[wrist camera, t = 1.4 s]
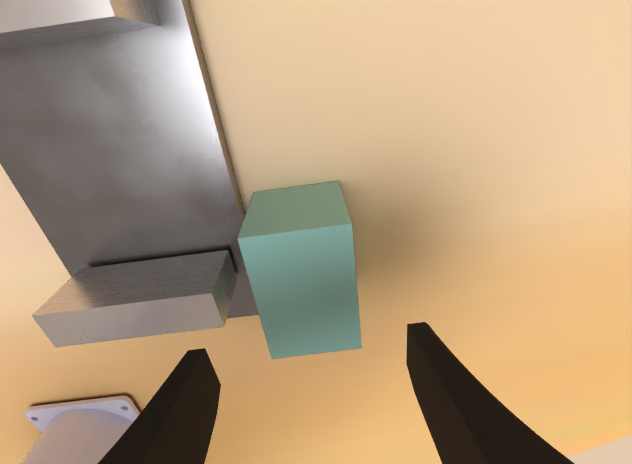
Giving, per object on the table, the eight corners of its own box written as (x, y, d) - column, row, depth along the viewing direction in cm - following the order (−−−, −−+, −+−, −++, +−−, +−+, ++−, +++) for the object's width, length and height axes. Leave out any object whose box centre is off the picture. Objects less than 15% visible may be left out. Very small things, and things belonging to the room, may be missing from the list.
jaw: (237, 279, 18) (223, 326, 15) (97, 297, 18) (55, 347, 15) (228, 249, 17) (211, 293, 14) (80, 268, 17) (31, 315, 14)
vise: (267, 302, 20) (259, 361, 16) (115, 321, 20) (70, 384, 16) (169, -73, 11) (101, -141, 8) (-95, -33, 12) (-296, -78, 8)
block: (348, 284, 20) (361, 348, 16) (278, 293, 20) (271, 358, 16) (338, 179, 17) (351, 223, 12) (253, 190, 17) (237, 238, 12)
